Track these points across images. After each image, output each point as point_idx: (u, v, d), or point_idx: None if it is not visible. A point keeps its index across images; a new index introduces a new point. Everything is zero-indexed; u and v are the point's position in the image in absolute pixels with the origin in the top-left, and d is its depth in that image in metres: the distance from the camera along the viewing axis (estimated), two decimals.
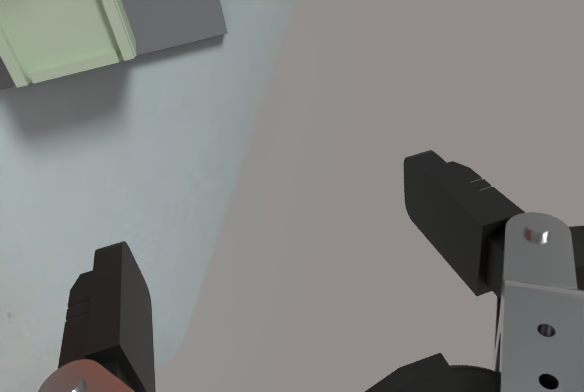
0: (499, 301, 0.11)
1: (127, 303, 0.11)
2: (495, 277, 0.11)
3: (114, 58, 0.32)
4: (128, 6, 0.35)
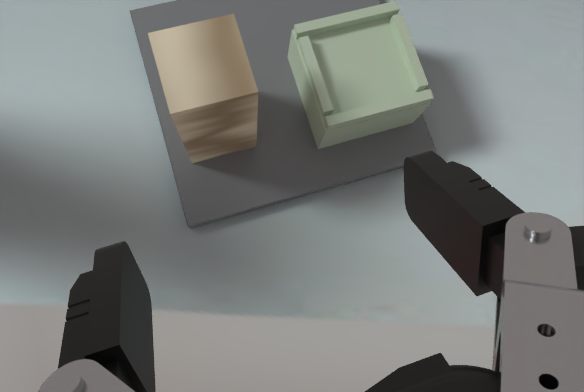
0: (499, 301, 0.11)
1: (127, 303, 0.11)
2: (495, 277, 0.11)
3: (398, 16, 0.34)
4: None
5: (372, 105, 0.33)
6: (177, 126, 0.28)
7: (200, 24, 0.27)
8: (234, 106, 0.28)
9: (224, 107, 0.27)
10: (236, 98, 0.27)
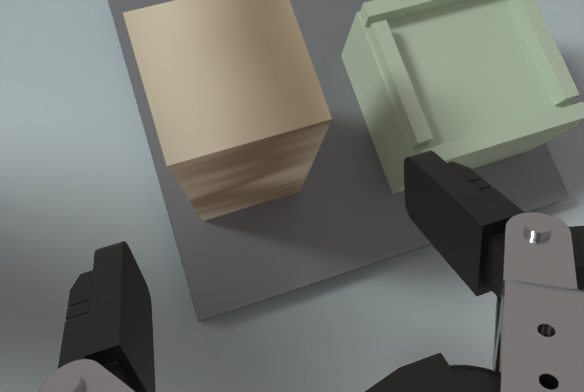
0: (499, 301, 0.11)
1: (127, 303, 0.11)
2: (495, 277, 0.11)
3: None
4: None
5: (492, 129, 0.20)
6: (180, 182, 0.15)
7: None
8: (285, 144, 0.15)
9: (266, 147, 0.15)
10: (291, 132, 0.14)
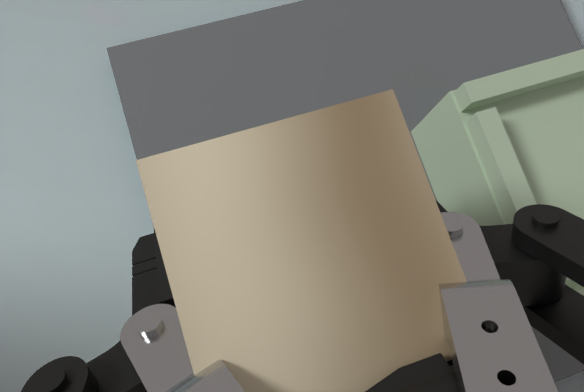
0: None
1: None
2: None
3: None
4: None
5: None
6: None
7: (297, 126, 0.09)
8: None
9: None
10: None
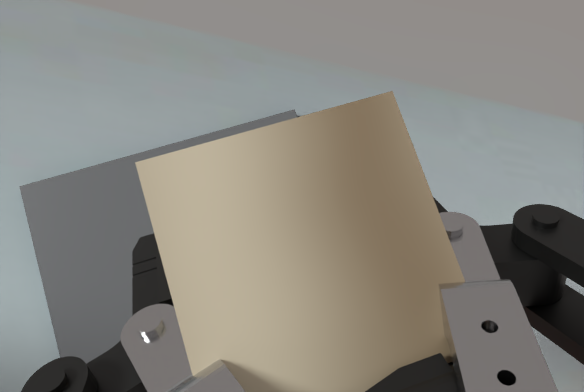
0: None
1: None
2: None
3: None
4: None
5: None
6: None
7: (296, 128, 0.09)
8: None
9: None
10: None
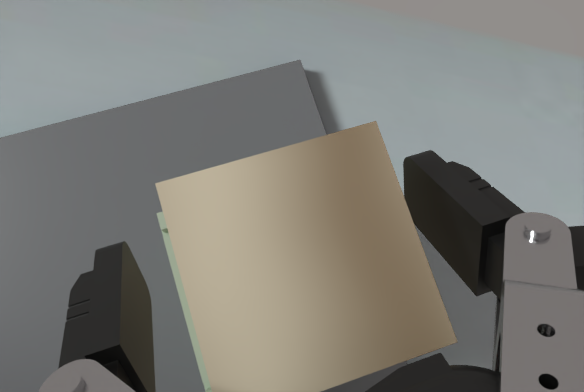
0: (499, 301, 0.11)
1: (127, 303, 0.11)
2: (495, 276, 0.11)
3: None
4: None
5: None
6: None
7: (293, 153, 0.10)
8: None
9: None
10: (397, 361, 0.10)
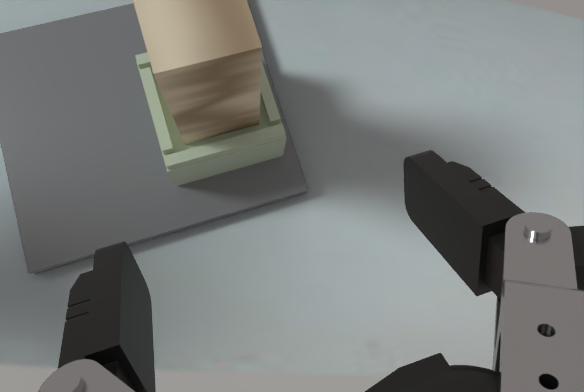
0: (499, 301, 0.11)
1: (127, 303, 0.11)
2: (495, 277, 0.11)
3: None
4: None
5: (217, 142, 0.30)
6: (164, 92, 0.23)
7: None
8: (233, 67, 0.23)
9: (220, 68, 0.22)
10: (235, 56, 0.22)
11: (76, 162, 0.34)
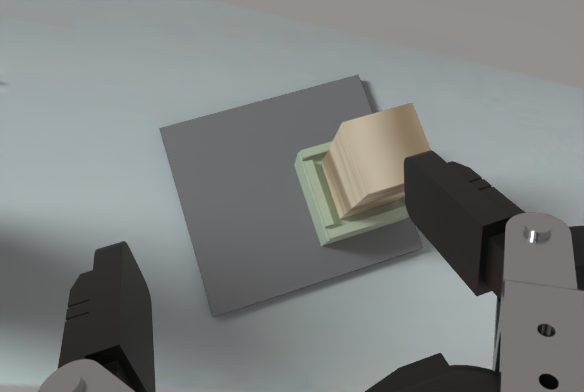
0: (499, 301, 0.11)
1: (127, 303, 0.11)
2: (495, 277, 0.11)
3: None
4: None
5: (366, 218, 0.39)
6: (361, 200, 0.32)
7: (385, 113, 0.31)
8: None
9: None
10: None
11: (242, 228, 0.43)
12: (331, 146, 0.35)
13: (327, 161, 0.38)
